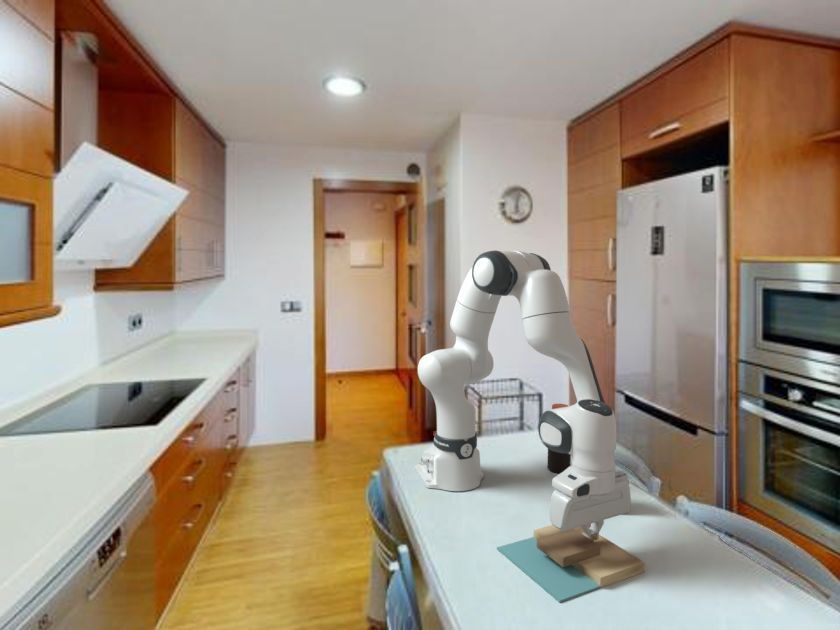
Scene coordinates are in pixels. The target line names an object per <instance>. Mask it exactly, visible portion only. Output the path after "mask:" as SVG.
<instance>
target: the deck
mask: <svg viewBox="0 0 840 630" xmlns="http://www.w3.org/2000/svg"><path fill="white" fill-rule="evenodd" d="M574 529H575V530H576V531H578V532H579V533H581V534H583V531H582V529H581V528H580V527H578V528H574ZM532 531H533V536H532V537H534V538H535V539H537V538H541V537H544V536H548V535H551V534H555V533H558V532H562V531H561V530H559V529H558V528H556V527H555V526H553V524H551V525H547V526H544V527H541V528H536V529H533V530H532ZM594 542H596V543H597V544H599V545H600V555H598V556H595V557H592V558H589V559H586V560H583V561H580V562H577V563H574V564H571V565H572V566H574V567H575V568H576V569H578V570H579V571H581V572H582V573H583V574H585V575H586V576H587V577H589V578H590V579H592V580H593V581H594V582H596V583H597V584H598V585H600V588H599V589H601V588H605V587H606V586H609V585H612V584H615V583H617V582H620V581H623V580H625V579H628V578H631V577H633V576H637V575H641V573H644V572H645V567H646V566H645V564H646V563H645V561H643V560H641V559H640V558H638V557H637V556H635V555H634V554H632V553H630V552H629V551H627V550H625V549H623V548H622V547H620V546H619V545H617V544H616V543H614V542H612V541H611V540H609V539H607V538H605V537H604V536H603V535H601V534H599V539H597V540H594Z"/></svg>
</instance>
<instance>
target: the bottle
mask: <svg viewBox="0 0 840 630" xmlns="http://www.w3.org/2000/svg"><path fill="white" fill-rule="evenodd" d="M568 406H569V405H568V404H565V403H553V404H552V405H551V409H556V408H562V407H568ZM571 465H572V456H571V455H570V454H568V453H558V452H554V451H551V450H550V449H548V448H547V470H548V471H550V472H551V473H554V474H560V473H562V472H563V471H565V470H566V469H567V468H568V467H569V466H571Z"/></svg>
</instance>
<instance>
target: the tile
mask: <svg viewBox="0 0 840 630" xmlns="http://www.w3.org/2000/svg"><path fill="white" fill-rule="evenodd" d="M537 548H538V549H539V550H540V551H542V552H543V553H545V554H546V555H547V556H549V557H550V558H551V559H553V560H554V561H555V562H557V563H558V564H560V565H561V566H562V567H565V566H568V565H571V564H574V563H577V562H580V561H583V560H586V559H589V558H592V557H595V556H598V555H600V545H599V544H597V543H596V542H594V541H592V540H591V539H589V538H588V537H586V536H584V535H583V534H581V533H579V532H578V531H576V530H575V529H571V530H568V531H564V532H563V531H562V532H558V533H555V534H551V535H548V536H544V537H541V538H537Z"/></svg>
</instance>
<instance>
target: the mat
mask: <svg viewBox="0 0 840 630" xmlns="http://www.w3.org/2000/svg"><path fill="white" fill-rule="evenodd" d="M496 550H497V551H498V552H499V553H500V554H502V555H503V556H504V557H505V558H507V560H509V561H510V562H511V563H513V565H515V566H516V567H517V568H518V569H519V570H520V571H521V572H523V573H524V574H525V575H527V576H528V578H530V579H531V580H532V581H534V582H535V583H536V584H537V585H538V586H539V587H541V588H542V589H543V590H544V591H545V592H546V593H548V594H549V595H550V596H551V597H552V598H554V600H555V601H556V602H557V603H563V602H565V601H568V600H571V599H574V598H576V597H579V596H581V595H584V594H587V593H590V592H593V591H595V590H599V589H601V588H600V585H598V584H597V583H596V582H594V581H593V580H592V579H590V578H589V577H587V576H586V575H585V574H583V573H582V572H581V571H579V570H578V569H576V568H575V567H574V566H572V565H568V566H565V567H562V566H561V565H560V564H558V563H557V562H555V561H554V560H553V559H551V558H550V557H549V556H547V555H546V554H545V553H543V552H542V551H540V550H539V549H538V548H537V539H535V538H534V537H533V536H532V537H528V538H525V539H522V540H518V541H514V542H511V543H507V544H505V545H501V546H496Z"/></svg>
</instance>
